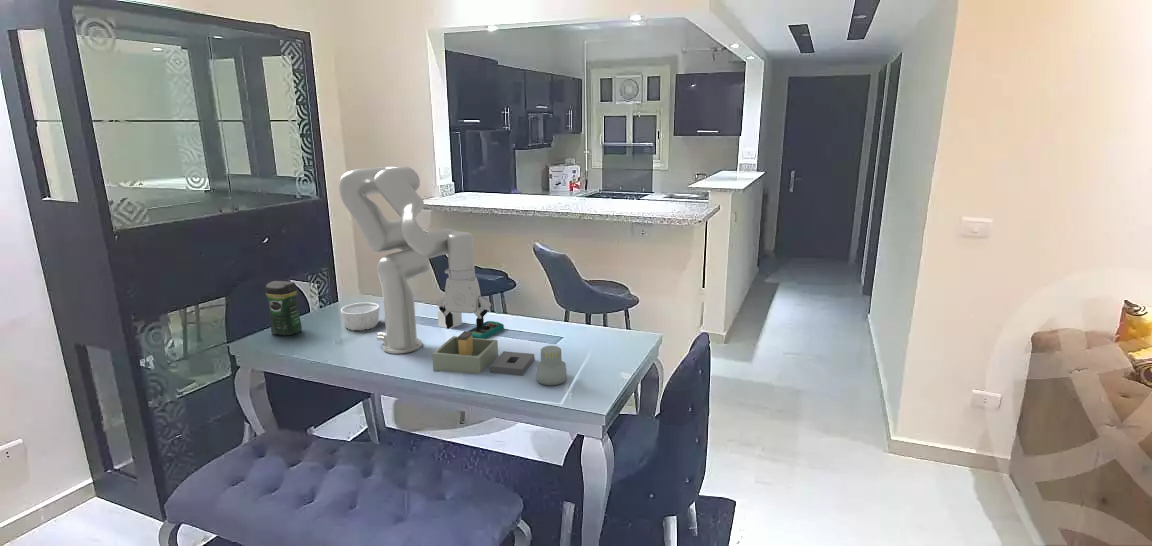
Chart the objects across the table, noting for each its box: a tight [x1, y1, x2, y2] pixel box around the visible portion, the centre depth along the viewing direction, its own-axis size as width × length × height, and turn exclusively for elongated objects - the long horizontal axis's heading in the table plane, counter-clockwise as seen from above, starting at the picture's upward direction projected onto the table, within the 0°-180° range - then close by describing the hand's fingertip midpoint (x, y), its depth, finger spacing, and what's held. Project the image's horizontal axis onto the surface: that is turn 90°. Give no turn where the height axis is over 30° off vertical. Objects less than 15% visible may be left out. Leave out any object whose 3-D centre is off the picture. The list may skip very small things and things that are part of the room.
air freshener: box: [536, 345, 568, 387], centre depth 173 cm, size 11×8×10 cm
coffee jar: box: [265, 280, 303, 336], centre depth 212 cm, size 10×8×19 cm
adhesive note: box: [437, 309, 463, 330], centre depth 221 cm, size 6×6×6 cm
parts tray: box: [431, 335, 499, 375], centre depth 187 cm, size 15×15×6 cm
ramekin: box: [340, 302, 380, 331], centre depth 220 cm, size 13×13×7 cm
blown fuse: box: [457, 330, 473, 356], centre depth 186 cm, size 2×5×9 cm, turn 167°
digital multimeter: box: [468, 320, 505, 339], centre depth 212 cm, size 7×15×3 cm, turn 154°
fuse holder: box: [489, 351, 536, 376], centre depth 184 cm, size 10×12×2 cm
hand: (464, 328), depth 184 cm, fingers open, 9 cm apart
